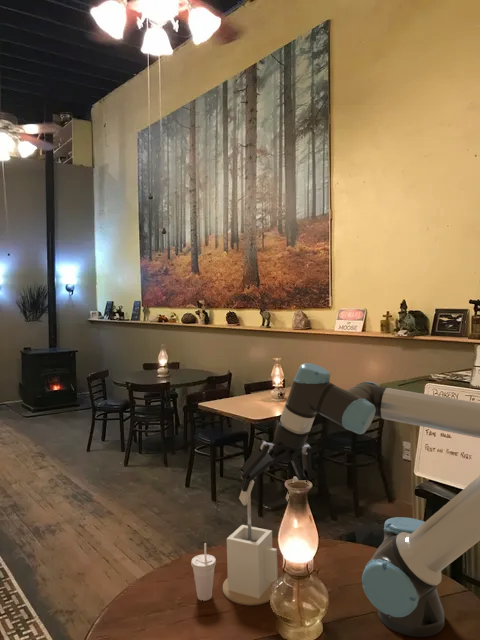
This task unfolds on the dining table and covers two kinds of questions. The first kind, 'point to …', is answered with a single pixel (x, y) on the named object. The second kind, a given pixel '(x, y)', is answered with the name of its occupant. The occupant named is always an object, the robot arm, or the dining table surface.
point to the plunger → (249, 517)
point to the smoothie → (204, 574)
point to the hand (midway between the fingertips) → (266, 501)
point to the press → (250, 566)
